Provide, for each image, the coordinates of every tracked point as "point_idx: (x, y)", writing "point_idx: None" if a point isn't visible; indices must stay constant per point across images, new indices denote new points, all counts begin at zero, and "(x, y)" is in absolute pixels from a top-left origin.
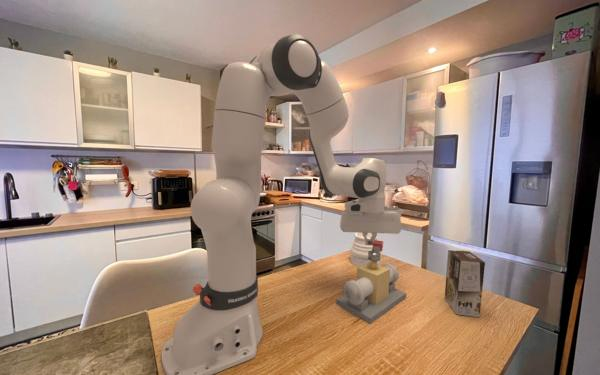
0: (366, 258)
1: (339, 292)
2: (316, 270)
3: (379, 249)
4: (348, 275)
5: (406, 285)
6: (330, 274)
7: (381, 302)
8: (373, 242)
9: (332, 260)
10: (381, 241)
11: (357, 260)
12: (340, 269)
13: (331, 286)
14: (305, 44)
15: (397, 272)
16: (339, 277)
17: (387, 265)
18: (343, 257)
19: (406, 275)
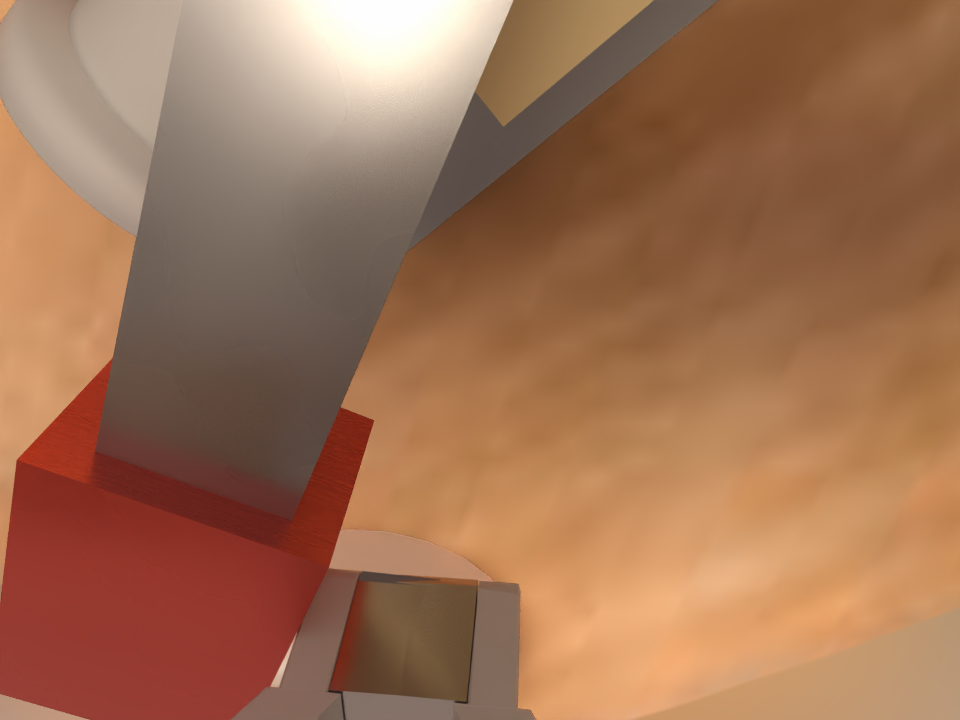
0: None
1: (903, 11)
2: (945, 497)
3: (165, 185)
4: (631, 400)
5: (35, 193)
6: (826, 421)
7: None
8: (289, 627)
9: (690, 657)
10: (39, 679)
11: None
12: (674, 510)
13: (939, 163)
14: None
15: (3, 22)
16: (750, 361)
17: (140, 157)
18: (563, 698)
19: (15, 394)
